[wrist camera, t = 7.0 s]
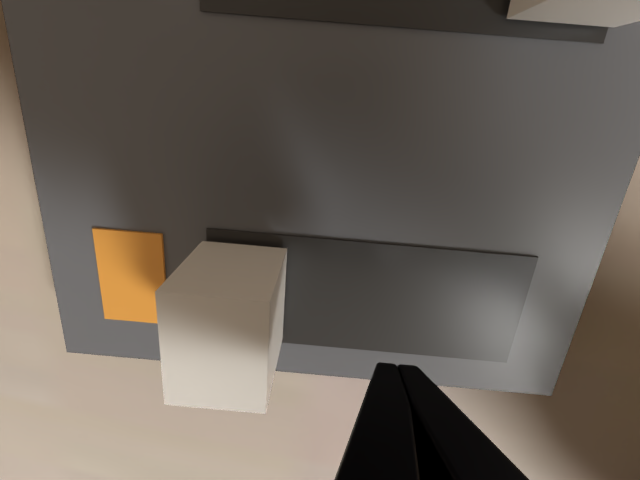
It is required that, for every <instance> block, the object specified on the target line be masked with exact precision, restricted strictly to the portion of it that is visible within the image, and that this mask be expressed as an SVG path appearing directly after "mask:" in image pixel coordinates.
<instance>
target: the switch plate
mask: <svg viewBox="0 0 640 480" xmlns="http://www.w3.org/2000/svg"><path fill="white" fill-rule="evenodd" d="M1 2H2V7H3V13H4V18H5V23H6V29H7V34H8V39H9V45H10V50H11V55H12V61H13V66H14V71H15V77H16V82H17V88H18V93H19V98H20V104H21V109H22V114H23V120H24V125H25V130H26V136H27V141H28V146H29V152H30V157H31V162H32V168H33V173H34V179H35V184H36V189H37V195H38V200H39V205H40V211H41V216H42V221H43V227H44V232H45V237H46V243H47V248H48V253H49V259H50V264H51V270H52V275H53V280H54V286H55V291H56V296H57V302H58V307H59V312H60V318H61V323H62V328H63V334H64V339H65V344H66V350H67V352H72V353H83V354H94V355H105V356H116V357H127V358H138V359H149V360H160V361H161V358H160V346H159V334H158V322H157V310H156V298H155V291H156V290H157V289H158V288H159V287H160V286H161V285H162V284H163V283H164V282H165V280H166V279H167V278H168V277H169V276H170V275H171V274H172V273H173V272H174V271H175V270H176V269H177V268H178V266H179V265H180V264H181V263H182V262H183V261H184V260H185V259H186V258H187V257H188V256H189V255H190V254H191V253H192V251H193V250H194V249H195V248H196V247H197V246H198V245H199V244H200V243H201V242H202V241H208V242H220V243H231V244H243V245H254V246H266V247H277V248H287V262H286V281H285V301H284V320H283V339H282V343H281V348H280V352H279V357H278V361H277V366H276V370H275V371H282V372H293V373H304V374H315V375H327V376H338V377H349V378H360V379H371V378H372V375H373V372H374V370H375V367H376V364H377V363H379V362H382V363H393V364H396V365H397V366H398V365H399V364H404V365H415V366H417V367H419V368H420V369H421V370H422V371H423V372H424V373H425V374H426V375H427V376H428V377H429V378H430V379H431V380H432V381H433V382H434V383H435V384H436V385H437V386H449V387H460V388H471V389H482V390H493V391H504V392H515V393H526V394H537V395H548V396H551V395H552V392H553V390H554V387H555V384H556V382H557V379H558V376H559V373H560V371H561V368H562V365H563V363H564V360H565V357H566V354H567V352H568V349H569V346H570V343H571V341H572V338H573V335H574V333H575V330H576V327H577V324H578V322H579V319H580V316H581V314H582V311H583V308H584V305H585V303H586V300H587V297H588V294H589V292H590V289H591V286H592V284H593V281H594V278H595V275H596V273H597V270H598V267H599V265H600V262H601V259H602V256H603V254H604V251H605V248H606V245H607V243H608V240H609V237H610V235H611V232H612V229H613V226H614V224H615V221H616V218H617V216H618V213H619V210H620V207H621V205H622V202H623V199H624V196H625V194H626V191H627V188H628V186H629V183H630V180H631V177H632V175H633V172H634V169H635V167H636V164H637V161H638V158H639V156H640V21H638V22H634V23H630V24H626V25H622V26H618V27H602V26H589V25H577V24H565V23H552V22H540V21H528V20H515V19H507V14H508V10H509V5H510V0H1Z"/></svg>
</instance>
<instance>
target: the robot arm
mask: <svg viewBox="0 0 640 480" xmlns="http://www.w3.org/2000/svg"><path fill="white" fill-rule="evenodd" d="M335 480H529V479H528V478H527V477H526V476H525V475H524V474H523V473H522V472H521V471H520V470H519V469H518V468H517V467H516V466H515V465H514V464H513V463H512V462H511V461H510V460H509V459H508V458H507V457H506V456H505V455H504V454H503V453H502V452H501V451H500V450H499V449H498V448H497V446H496V445H495V444H494V443H493V442H492V441H491V440H490V439H489V438H488V437H487V436H486V435H485V434H484V433H483V432H482V431H481V430H480V429H479V428H478V427H477V426H476V425H475V424H474V423H473V422H472V421H471V420H470V419H469V418H468V417H467V416H466V415H465V414H464V413H463V412H462V411H461V410H460V409H459V408H458V407H457V406H456V405H455V404H454V403H453V402H452V401H451V400H450V399H449V398H448V397H447V396H446V395H445V394H444V393H443V392H442V391H441V390H440V389H439V388H438V387H437V385H436V384H435V383H434V382H433V381H432V380H431V379H430V378H429V377H428V376H427V375H426V374H425V373H424V372H423V371H422V370H421V369H420V368H419V367H417V366H415V365H404V364H399V365H398V366H397V365H396V364H393V363H382V362H379V363H377V364H376V367H375V370H374V372H373V375H372V378H371V381H370V383H369V386H368V389H367V392H366V394H365V397H364V400H363V403H362V405H361V408H360V411H359V414H358V416H357V419H356V422H355V425H354V427H353V430H352V433H351V436H350V438H349V441H348V444H347V447H346V449H345V452H344V455H343V458H342V460H341V463H340V466H339V469H338V471H337V474H336V477H335Z"/></svg>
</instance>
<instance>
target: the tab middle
mask: <svg viewBox="0 0 640 480" xmlns="http://www.w3.org/2000/svg"><path fill="white" fill-rule="evenodd" d="M507 19H515V20H528V21H540V22H552V23H565V24H577V25H589V26H602V27H618V26H622V25H626V24H630V23H634V22H638V21H640V0H510V5H509V10H508V14H507Z"/></svg>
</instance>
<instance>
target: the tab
mask: <svg viewBox="0 0 640 480" xmlns="http://www.w3.org/2000/svg"><path fill="white" fill-rule="evenodd" d="M286 262H287V248H277V247H266V246H254V245H243V244H231V243H220V242H208V241H202V242H201V243H200V244H199V245H198V246H197V247H196V248H195V249H194V250H193V251H192V253H191V254H190V255H189V256H188V257H187V258H186V259H185V260H184V261H183V262H182V263H181V264H180V265H179V266H178V268H177V269H176V270H175V271H174V272H173V273H172V274H171V275H170V276H169V277H168V278H167V279H166V280H165V282H164V283H163V284H162V285H161V286H160V287H159V288H158V289H157V290H156V291H155V298H156V310H157V322H158V334H159V346H160V358H161V370H162V382H163V394H164V405H174V406H185V407H195V408H206V409H217V410H228V411H239V412H250V413H261V414H266V411H267V406H268V402H269V397H270V393H271V388H272V384H273V379H274V375H275V370H276V366H277V361H278V357H279V352H280V348H281V343H282V339H283V320H284V301H285V281H286Z"/></svg>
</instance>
